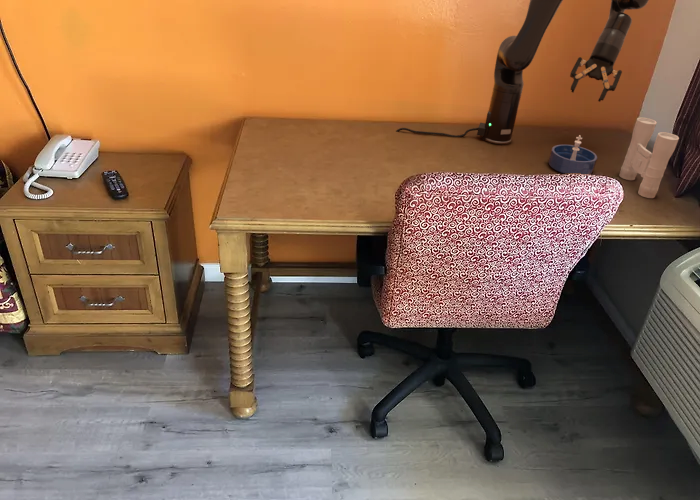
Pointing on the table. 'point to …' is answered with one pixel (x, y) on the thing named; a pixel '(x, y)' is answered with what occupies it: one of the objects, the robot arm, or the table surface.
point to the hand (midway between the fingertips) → (585, 96)
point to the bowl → (564, 165)
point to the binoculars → (648, 156)
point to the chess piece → (576, 148)
